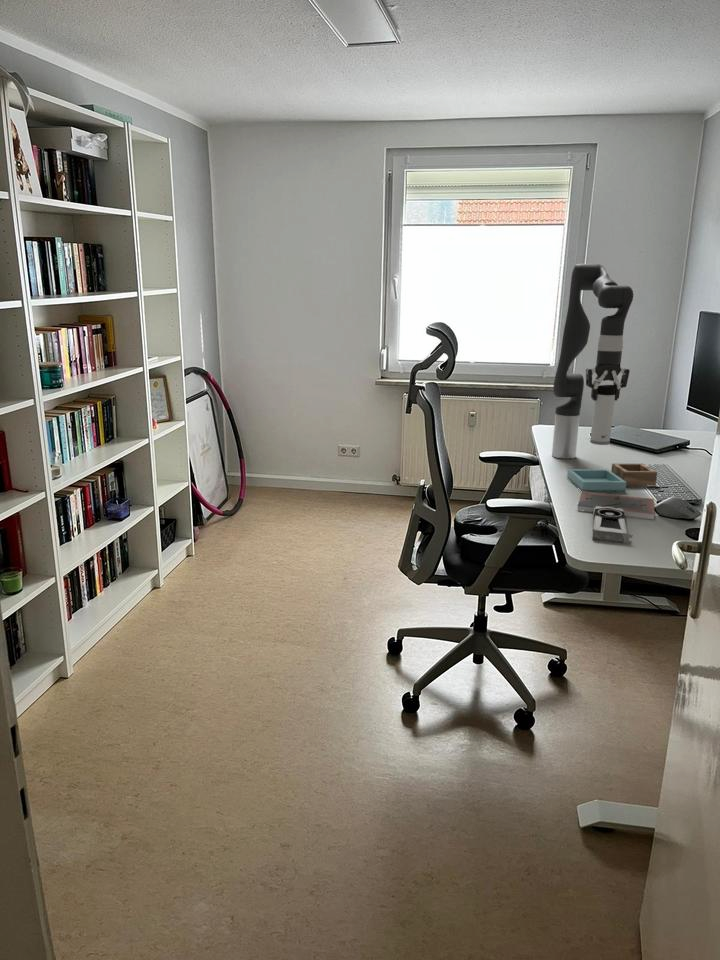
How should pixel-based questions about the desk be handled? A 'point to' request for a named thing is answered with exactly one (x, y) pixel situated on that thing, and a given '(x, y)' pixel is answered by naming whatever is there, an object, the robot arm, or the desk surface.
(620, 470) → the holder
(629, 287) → the robot arm
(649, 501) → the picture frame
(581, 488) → the tray
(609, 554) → the desk surface
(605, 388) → the travel mug
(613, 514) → the graphics card
